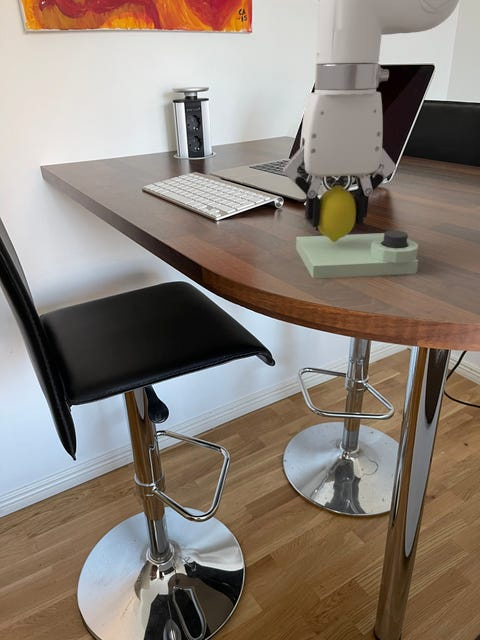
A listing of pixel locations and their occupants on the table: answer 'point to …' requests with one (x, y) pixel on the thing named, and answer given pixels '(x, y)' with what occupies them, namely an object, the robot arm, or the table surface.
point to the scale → (355, 256)
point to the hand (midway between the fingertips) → (335, 222)
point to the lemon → (336, 213)
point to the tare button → (395, 239)
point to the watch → (336, 183)
